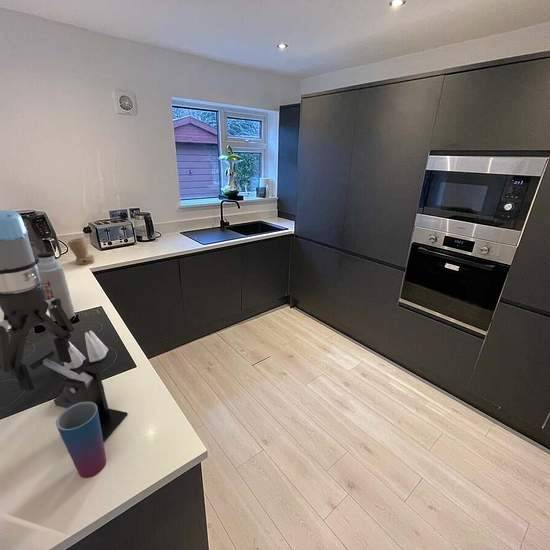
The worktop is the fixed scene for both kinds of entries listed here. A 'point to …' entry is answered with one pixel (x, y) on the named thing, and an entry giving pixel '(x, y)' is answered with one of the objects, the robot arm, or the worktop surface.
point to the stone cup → (81, 251)
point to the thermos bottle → (54, 282)
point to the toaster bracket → (95, 400)
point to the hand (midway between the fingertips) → (48, 374)
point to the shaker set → (94, 351)
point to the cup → (83, 437)
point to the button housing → (63, 399)
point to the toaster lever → (61, 369)
